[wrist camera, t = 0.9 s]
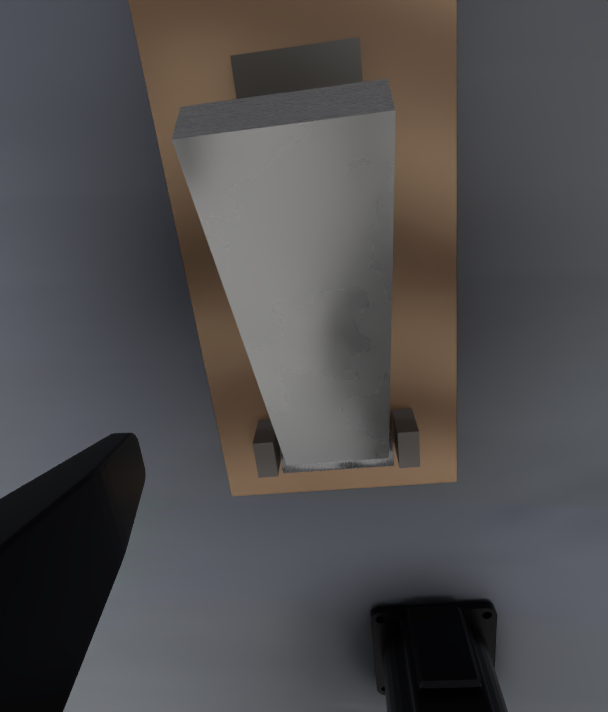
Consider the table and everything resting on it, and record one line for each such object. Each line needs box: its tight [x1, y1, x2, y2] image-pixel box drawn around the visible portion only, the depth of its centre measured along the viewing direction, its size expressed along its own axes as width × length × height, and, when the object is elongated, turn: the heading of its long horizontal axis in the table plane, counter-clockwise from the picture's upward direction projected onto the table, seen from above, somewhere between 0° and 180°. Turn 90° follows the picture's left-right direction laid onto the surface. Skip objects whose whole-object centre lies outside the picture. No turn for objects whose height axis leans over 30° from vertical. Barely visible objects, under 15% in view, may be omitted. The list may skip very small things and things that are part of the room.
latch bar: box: [172, 78, 396, 473], centre depth 15 cm, size 15×4×1 cm, turn 8°
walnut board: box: [128, 0, 457, 496], centre depth 18 cm, size 20×10×3 cm, turn 7°
